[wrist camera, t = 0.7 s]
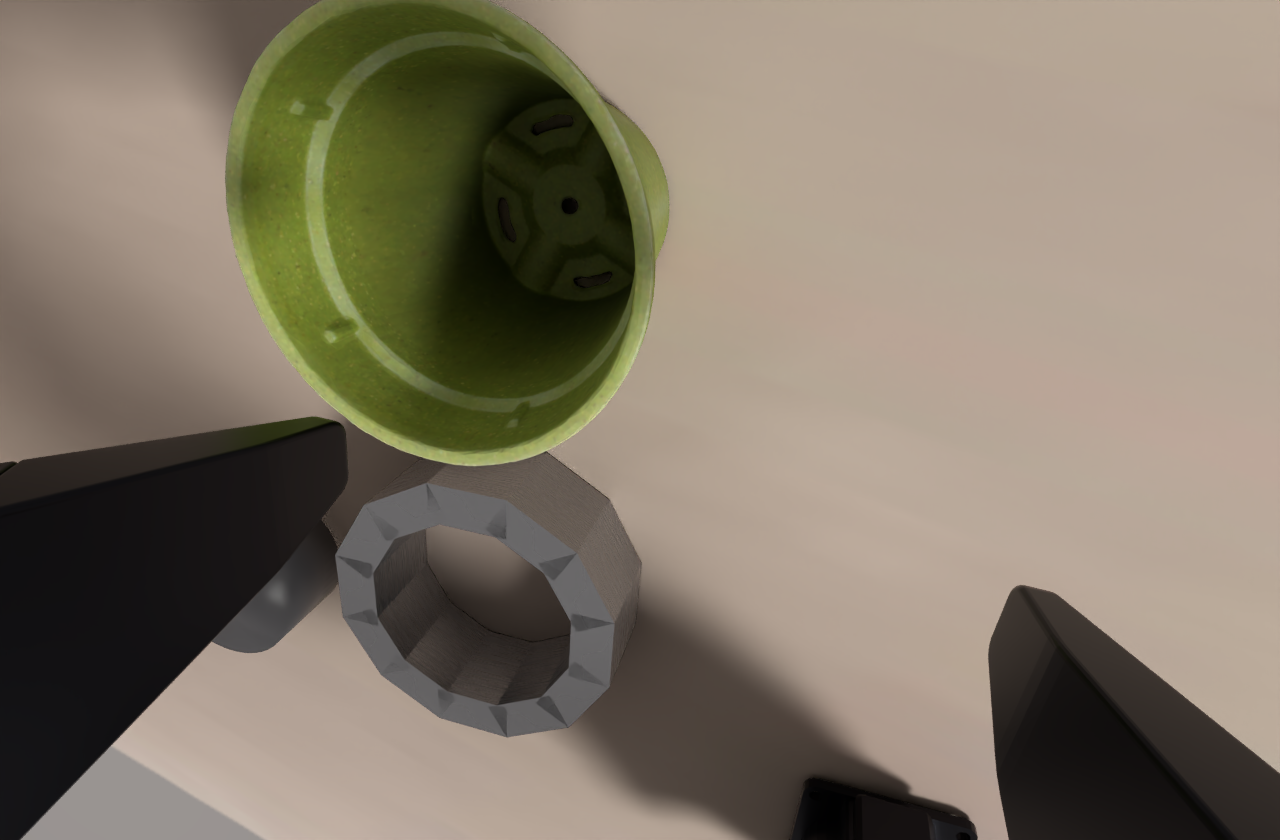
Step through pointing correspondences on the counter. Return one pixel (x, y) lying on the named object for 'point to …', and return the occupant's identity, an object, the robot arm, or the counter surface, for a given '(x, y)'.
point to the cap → (285, 596)
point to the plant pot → (443, 225)
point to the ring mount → (455, 643)
